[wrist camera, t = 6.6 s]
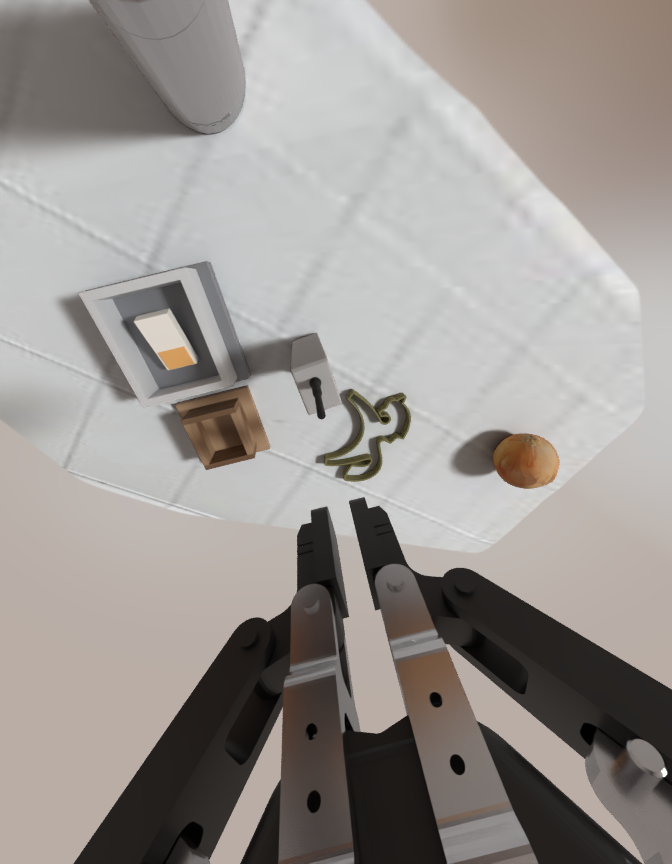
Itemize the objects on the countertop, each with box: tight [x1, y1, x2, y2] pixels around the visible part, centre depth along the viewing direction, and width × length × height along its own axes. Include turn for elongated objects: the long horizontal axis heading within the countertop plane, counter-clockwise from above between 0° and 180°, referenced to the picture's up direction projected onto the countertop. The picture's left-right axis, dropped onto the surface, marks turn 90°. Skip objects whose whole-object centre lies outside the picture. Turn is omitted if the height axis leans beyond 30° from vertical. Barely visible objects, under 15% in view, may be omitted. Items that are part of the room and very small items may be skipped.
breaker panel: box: [78, 262, 251, 408], centre depth 39 cm, size 15×15×6 cm
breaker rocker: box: [134, 308, 198, 370], centre depth 38 cm, size 7×4×2 cm, turn 12°
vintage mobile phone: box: [291, 333, 342, 419], centre depth 33 cm, size 4×5×25 cm
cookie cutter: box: [324, 389, 411, 482], centre depth 51 cm, size 18×12×2 cm, turn 160°
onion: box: [493, 434, 559, 489], centre depth 52 cm, size 10×10×10 cm
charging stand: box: [175, 386, 270, 470], centre depth 46 cm, size 11×11×5 cm
